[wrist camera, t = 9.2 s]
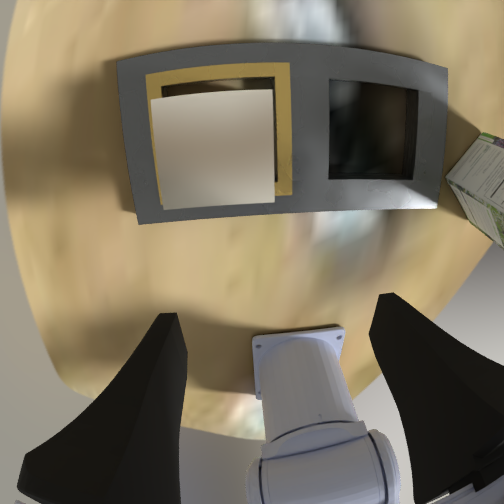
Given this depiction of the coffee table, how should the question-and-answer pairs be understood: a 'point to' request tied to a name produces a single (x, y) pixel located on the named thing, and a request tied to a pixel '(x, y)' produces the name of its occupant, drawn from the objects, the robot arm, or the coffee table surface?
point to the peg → (215, 148)
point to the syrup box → (482, 185)
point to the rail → (292, 125)
